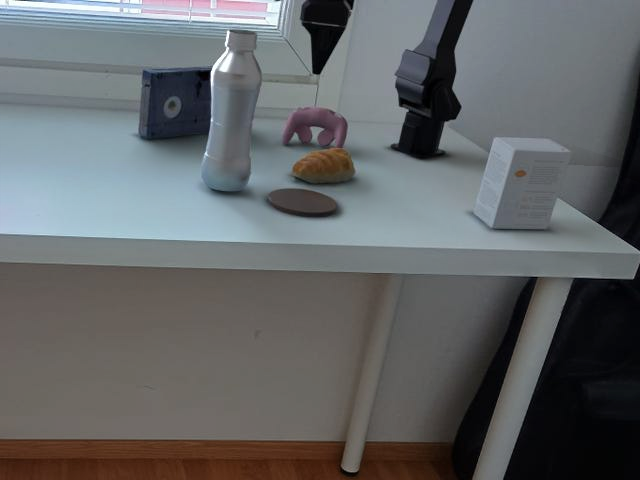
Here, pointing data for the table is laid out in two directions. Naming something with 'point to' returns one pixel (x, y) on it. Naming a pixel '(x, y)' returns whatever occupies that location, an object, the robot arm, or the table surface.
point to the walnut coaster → (302, 202)
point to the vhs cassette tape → (175, 102)
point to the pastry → (325, 166)
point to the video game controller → (316, 117)
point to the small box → (521, 183)
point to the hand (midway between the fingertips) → (318, 67)
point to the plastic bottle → (232, 113)
